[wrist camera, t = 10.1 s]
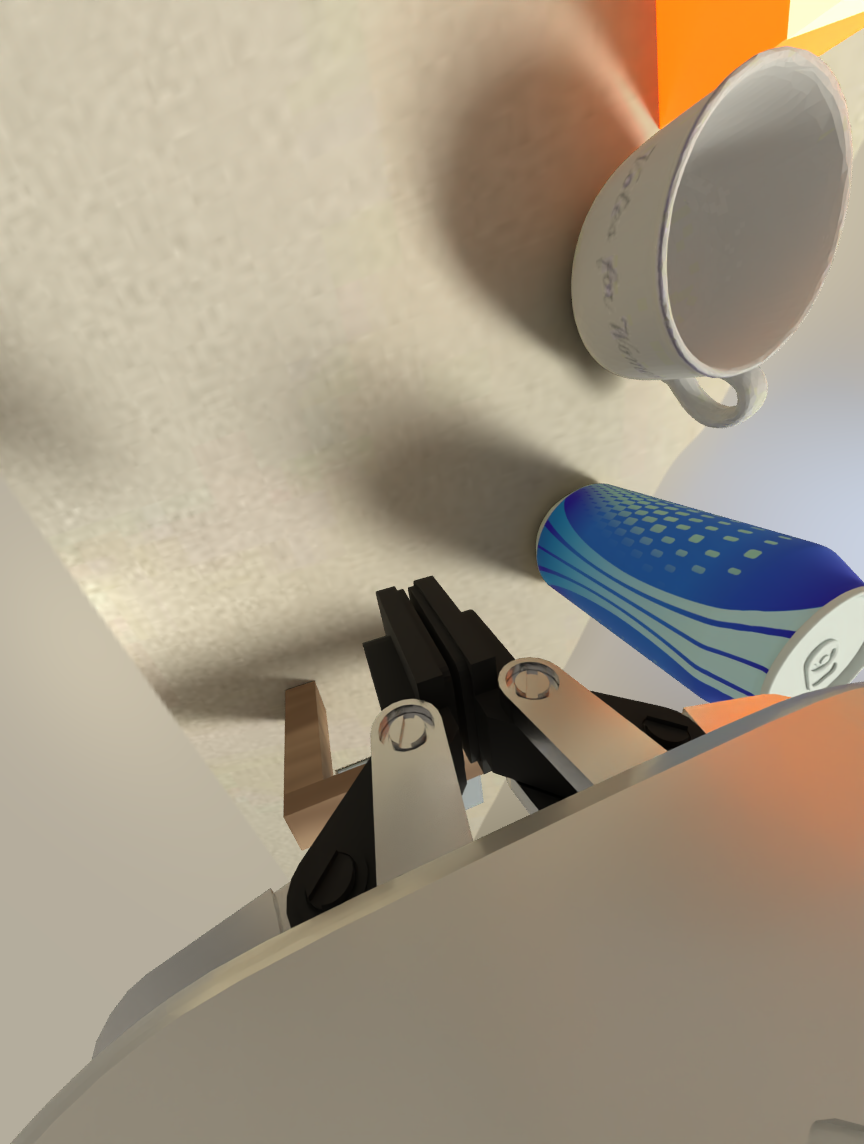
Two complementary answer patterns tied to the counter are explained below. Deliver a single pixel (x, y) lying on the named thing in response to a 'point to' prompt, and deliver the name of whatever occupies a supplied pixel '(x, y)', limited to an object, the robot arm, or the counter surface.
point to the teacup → (719, 234)
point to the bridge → (315, 766)
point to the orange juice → (737, 40)
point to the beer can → (706, 593)
